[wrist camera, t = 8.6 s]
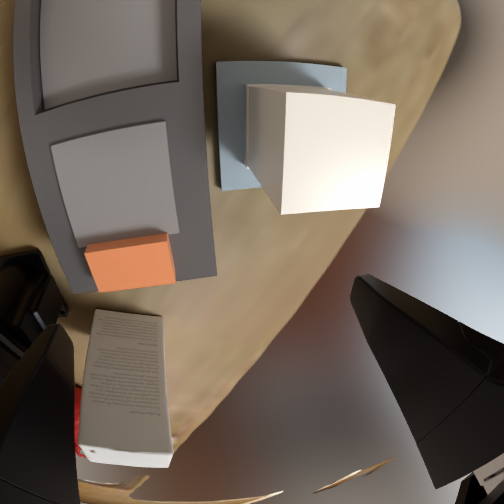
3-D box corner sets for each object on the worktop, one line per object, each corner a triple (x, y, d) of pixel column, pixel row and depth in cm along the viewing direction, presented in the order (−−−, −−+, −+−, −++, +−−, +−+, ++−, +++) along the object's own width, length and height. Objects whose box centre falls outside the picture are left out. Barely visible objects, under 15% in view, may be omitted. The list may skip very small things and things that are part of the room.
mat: (221, 188, 18) (221, 191, 18) (215, 62, 14) (216, 61, 13) (335, 180, 20) (338, 182, 19) (343, 67, 15) (346, 68, 15)
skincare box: (98, 339, 23) (87, 461, 14) (95, 306, 21) (75, 444, 12) (161, 346, 25) (169, 469, 16) (165, 315, 23) (174, 454, 14)
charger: (244, 164, 17) (278, 217, 12) (243, 84, 14) (283, 89, 9) (319, 161, 18) (380, 209, 12) (325, 87, 15) (397, 102, 10)
